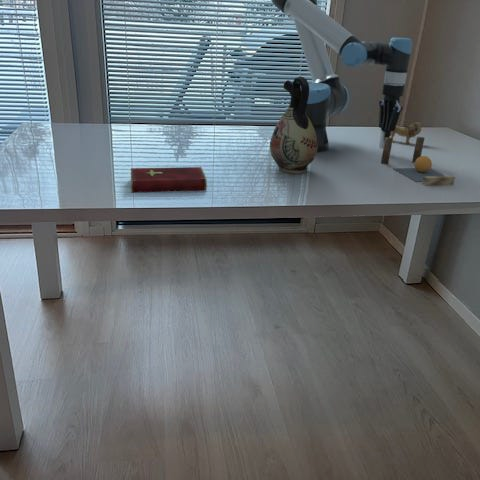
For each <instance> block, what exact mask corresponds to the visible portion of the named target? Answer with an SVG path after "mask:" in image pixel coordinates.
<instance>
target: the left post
mask: <svg viewBox="0 0 480 480" xmlns="http://www.w3.org/2000/svg"><path fill="white" fill-rule="evenodd" d="M393 140H394V137H393V138H391V136H390V137H386V138H385V142H384V148H383V149H382V154H381V159H380V160H381V161H380V164H382V165H389V163H390V155H391V151H392V145H393V142H392V141H393Z"/></svg>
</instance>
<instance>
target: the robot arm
mask: <svg viewBox="0 0 480 480" xmlns="http://www.w3.org/2000/svg"><path fill="white" fill-rule="evenodd" d="M270 1H271V3H272V4H273V6H275V7H276V8H277V9H278V10H279V11H280V12H282V13H283V14H284V15H286V16H288V18H289V20H291V21H293V22H294V25H295V29H296V32H297V35H298V37H299V42H300V44H301V48H302V51H303V54H304V57H305V61H306V64H307V66H308V67H307V68H308V71H309V73H310V76H311V83H310V82H308V84H309V97H308V101H307V107H306V114H307V116H308V117H309V119H310V121H311V123H312V125H313V127H314V130H315V133H316V137H317V153H319V152H326V151H327V150H328V149H329V145H330V144H329V137H328V132H327V122H328V117H330V116H336V115H338V114H340V113H342V112H343V111H345V110H346V109H347V107H348V105H349V101H350V92H349V90H348V88H347V87H346V86H345V85H344V84H342V82H341V80H340V76H339V75H337V74H335V73H334V70H333V66H332V63H331V59H330V57H329V54H328V50H327V47H326V45H327V46H328V47H329V48H331V49H332V50H333V51H334V52H336V53H337V54H338V55H340V56H341V60H342V62H343V63H344V64H345V65H346V66H347V67H352V68H353V67H359V66H367V65H369V66H370V65H376V66H385V72H384V78H383V82H384V84H383V85H382V90H381V94H382V95H384V97H383V99H382V100H380V101H379V102H378V106H379V114H378V115H379V116H378V117H379V118H378V128H380V130H381V133H380V141H379V146H378V149H380V150H383V148H384V142H385V138H386V137H390V138H391V136H390V133H391V132H392V131H395V128H396V125H397V124H398V121H399V118H400V116H401V113H402V111H403V109H404V108H403V106H400V101H401V100H400V99H401V98H400V97H403V96H404V92H405V84H406V80H407V73H408V71H409V70H408V69H409V65H410V59H411V54H412V48H413V40H412V39H411V38H407V37H391V39H390V42H378V41H369V40H367V41H365V40H364V41H361V40H360V39H358V38H357V37H356V36H354V34H352V33H351V32H350V31H348V30H347V29H346V28H345V27H343V26H342V25H341V24H340V23H339V22H337V21H336V20H335V19H333V18H332V17H331V16H330V15H329V14H327V13H326V12H325V11H323V10H322V9H321V8H319V6H318V3H317V1H318V0H270ZM397 126H398V125H397Z"/></svg>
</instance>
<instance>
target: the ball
mask: <svg viewBox="0 0 480 480" xmlns="http://www.w3.org/2000/svg"><path fill="white" fill-rule="evenodd" d="M432 166H433V162H432V160H431V158H430V157H428V156H427V155H421V157H419V158H417V159H416V161H415V163H414V168H416V170H417V171H419V172H427V171H428V170H429V169H430V168H431V169H432Z"/></svg>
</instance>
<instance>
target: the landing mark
mask: <svg viewBox="0 0 480 480" xmlns="http://www.w3.org/2000/svg"><path fill="white" fill-rule="evenodd" d="M392 169H393V171H395V172H398V173H399V174H401V175H403V176H404V177H406V178H408V179H410V180H412V181H414V182H415V183H419V182H420V183H422V182H423V177H424V176H445V174H442V173H440V172H439V171H437V170H435V169H433V168H432V167H431V168H430V169H429V170H428V171H427V172H419V171H417V170H416V168H415V167H402V168H398V167H397V168H396V167H395V168H392Z"/></svg>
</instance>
